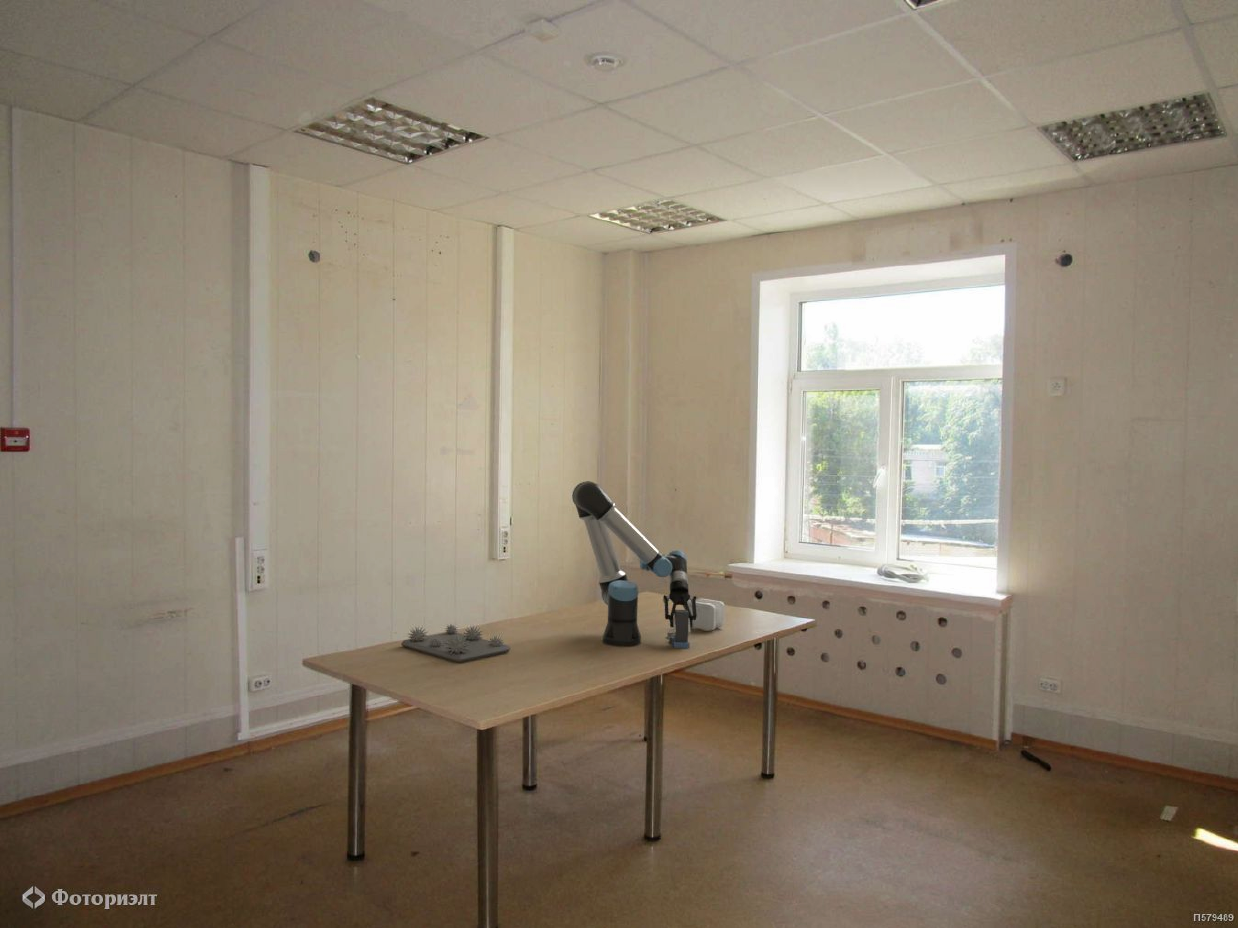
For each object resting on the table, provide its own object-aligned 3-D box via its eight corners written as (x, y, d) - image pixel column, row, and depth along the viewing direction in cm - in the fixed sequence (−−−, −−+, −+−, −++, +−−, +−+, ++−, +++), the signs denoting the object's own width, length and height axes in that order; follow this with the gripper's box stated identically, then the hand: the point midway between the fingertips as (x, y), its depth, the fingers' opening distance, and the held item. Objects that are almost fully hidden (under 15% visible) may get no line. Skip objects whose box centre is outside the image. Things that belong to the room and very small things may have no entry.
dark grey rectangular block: (674, 642, 322) (675, 612, 322) (673, 639, 327) (674, 609, 327) (687, 643, 322) (688, 612, 322) (686, 640, 327) (687, 609, 327)
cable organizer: (726, 629, 357) (726, 602, 357) (712, 632, 349) (713, 605, 349) (697, 623, 367) (698, 597, 367) (683, 627, 359) (684, 600, 359)
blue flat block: (674, 647, 320) (674, 642, 320) (671, 642, 329) (672, 637, 329) (689, 647, 320) (689, 642, 320) (686, 642, 329) (687, 637, 329)
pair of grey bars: (669, 642, 329) (669, 637, 329) (667, 637, 338) (667, 632, 338) (684, 642, 329) (684, 637, 329) (682, 637, 338) (682, 632, 338)
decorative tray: (512, 654, 305) (513, 627, 305) (456, 666, 285) (457, 637, 285) (453, 637, 328) (453, 612, 328) (397, 648, 308) (398, 621, 308)
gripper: (699, 590, 340) (703, 639, 324) (656, 589, 339) (658, 638, 323) (701, 579, 335) (706, 629, 318) (657, 578, 334) (659, 628, 318)
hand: (681, 633), depth 321 cm, fingers closed on dark grey rectangular block, 5 cm apart
